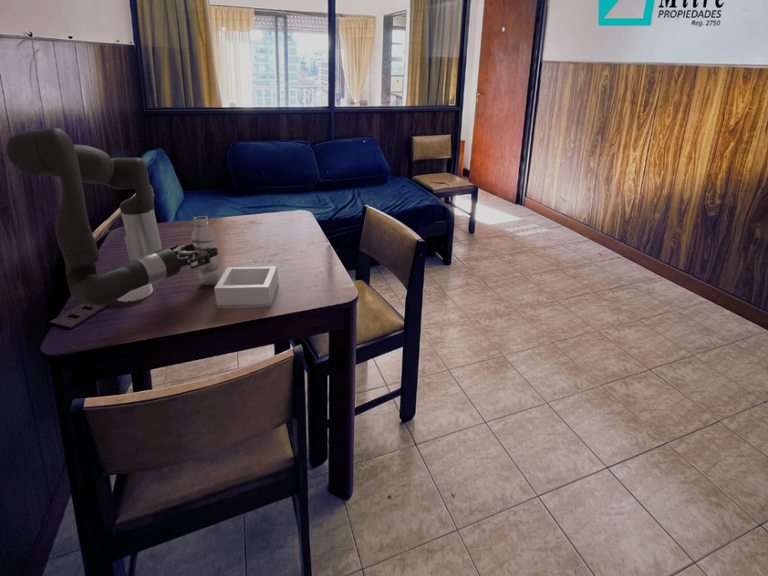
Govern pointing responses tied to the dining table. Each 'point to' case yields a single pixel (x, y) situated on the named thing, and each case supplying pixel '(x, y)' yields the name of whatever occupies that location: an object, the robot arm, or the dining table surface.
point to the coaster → (137, 294)
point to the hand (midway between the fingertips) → (206, 248)
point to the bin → (247, 287)
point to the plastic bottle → (204, 241)
